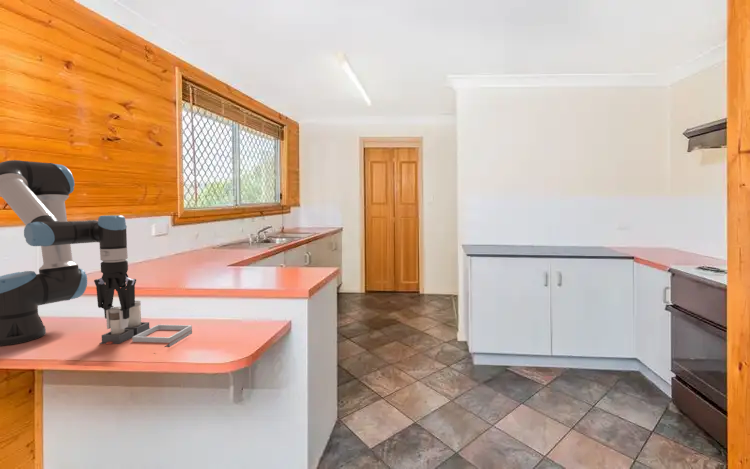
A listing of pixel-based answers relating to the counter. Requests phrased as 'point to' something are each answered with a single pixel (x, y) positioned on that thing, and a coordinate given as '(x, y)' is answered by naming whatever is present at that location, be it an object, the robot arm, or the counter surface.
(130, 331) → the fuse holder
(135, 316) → the cylinder
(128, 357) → the counter surface
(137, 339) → the grey square frame
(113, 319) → the cylinder
